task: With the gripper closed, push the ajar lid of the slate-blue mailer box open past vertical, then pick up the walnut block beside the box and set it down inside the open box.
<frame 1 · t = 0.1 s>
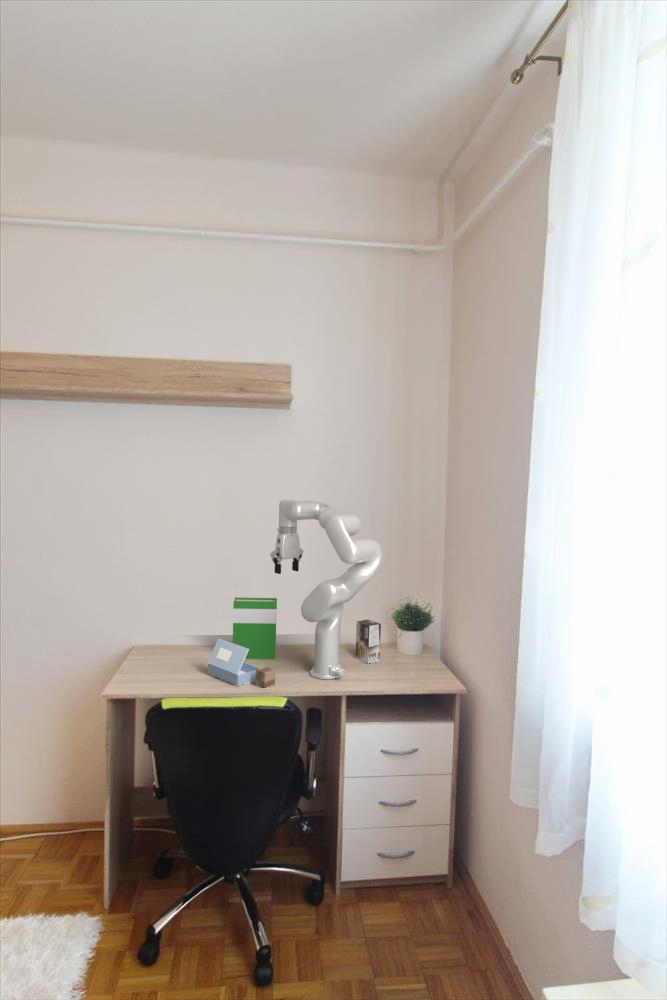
hand: (286, 572, 273), 37 cm above the table, tool pointing down, fingers open, 9 cm apart
mailer box: (235, 676, 253), on the table
walnut block: (265, 686, 244), on the table
coffee box: (367, 660, 279), on the table
hardback book: (254, 656, 280), on the table
lid: (227, 656, 250), point 9 cm above the table, hinge at 60.0°
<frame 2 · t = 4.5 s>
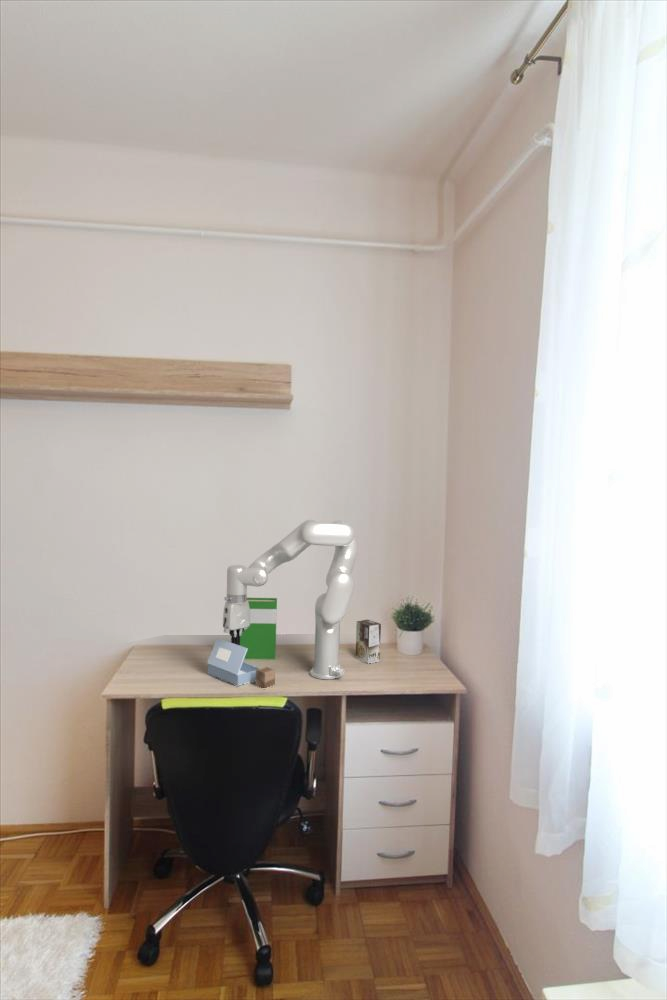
hand: (235, 646, 252), 12 cm above the table, tool pointing down, fingers closed
lid: (227, 655, 250), point 9 cm above the table, hinge at 64.0°, touching gripper
everything else where it was.
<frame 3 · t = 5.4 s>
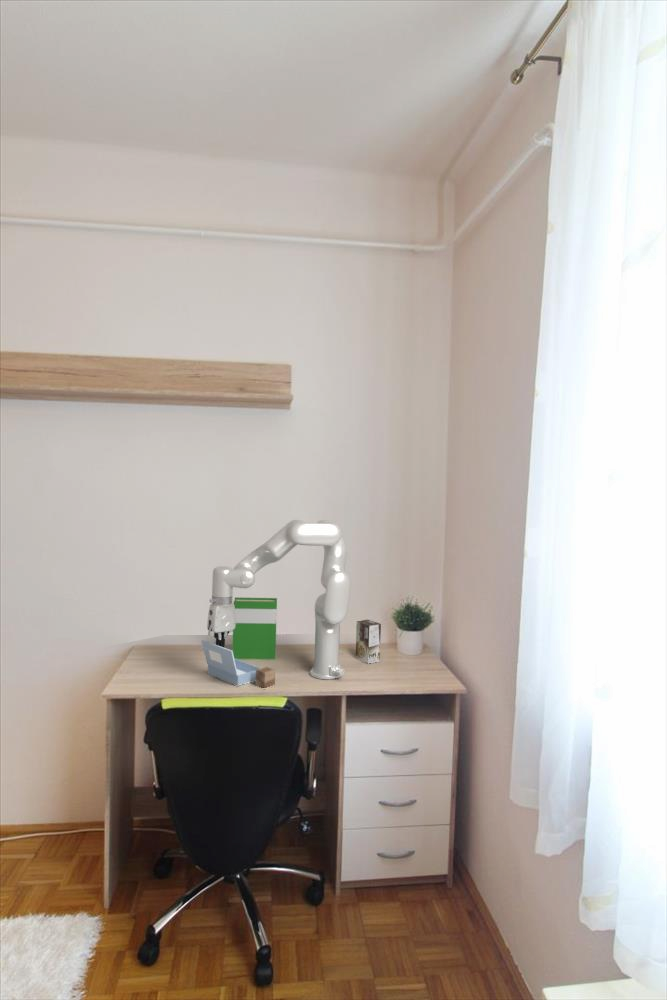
hand: (220, 649, 248), 12 cm above the table, tool pointing down, fingers closed
lid: (219, 657, 247), point 9 cm above the table, hinge at 106.2°, touching gripper
everything else where it was.
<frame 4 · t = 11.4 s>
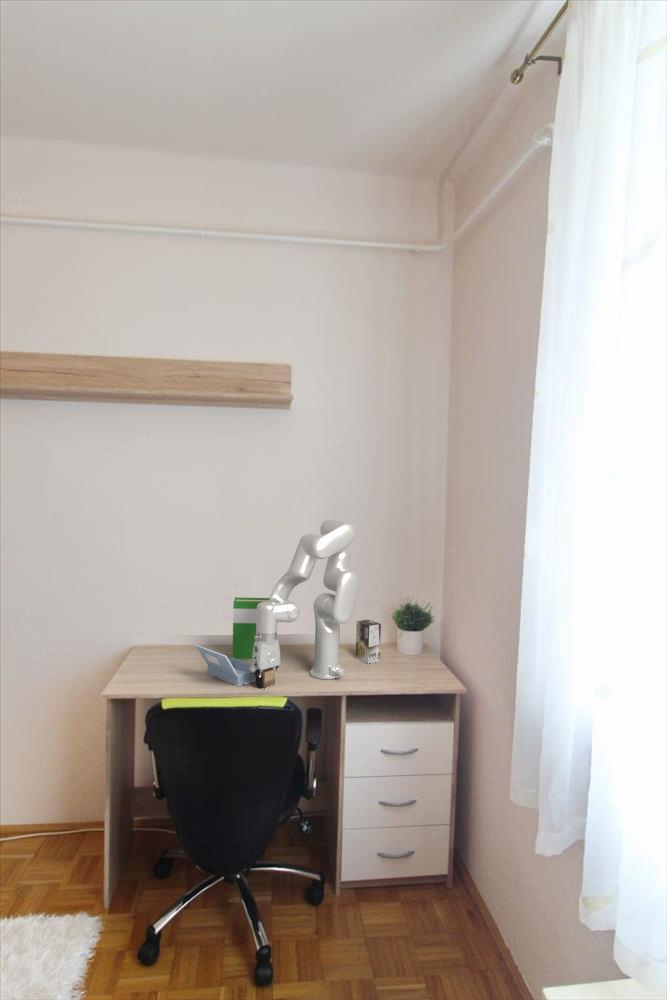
hand: (265, 684, 244), 0 cm above the table, tool pointing down, fingers closed on walnut block, 5 cm apart
walnut block: (265, 686, 244), on the table, touching gripper
lid: (216, 660, 246), point 8 cm above the table, hinge at 123.8°
everything else where it was.
when the fingers open (3 cm above the table, at t = 17.0 s): walnut block drops 2 cm, resting on mailer box.
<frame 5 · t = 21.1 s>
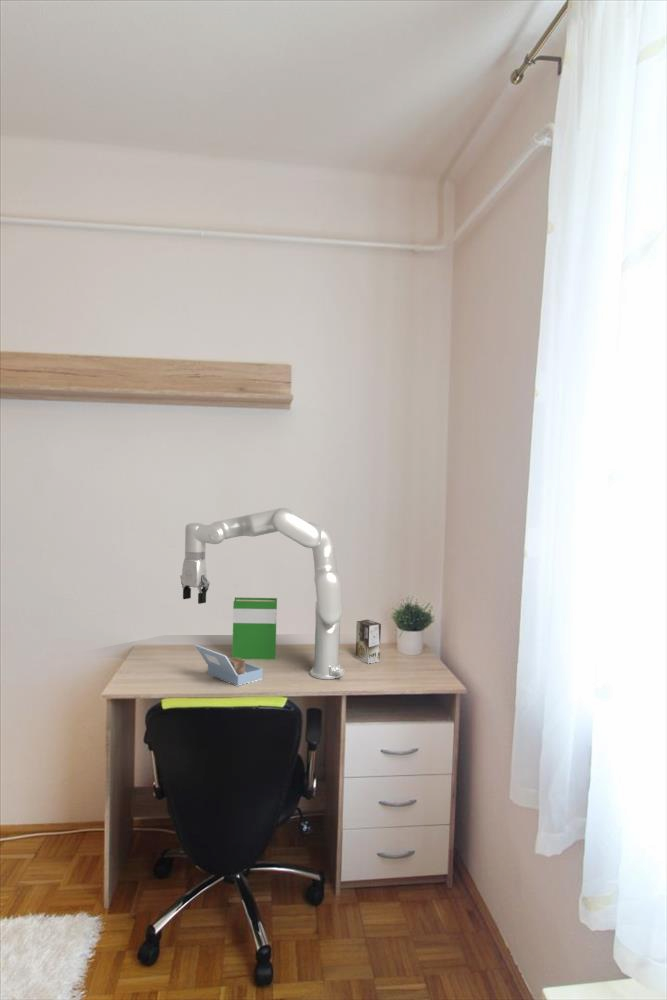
hand: (194, 600, 253), 28 cm above the table, tool pointing down, fingers open, 9 cm apart
walnut block: (235, 675, 253), resting on mailer box
everything else where it was.
at the end: lid at +124° (first picture: +60°); walnut block inside the target area on the mailer box (0.0 cm from its centre), point 0.5 cm above the mailer box's base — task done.
